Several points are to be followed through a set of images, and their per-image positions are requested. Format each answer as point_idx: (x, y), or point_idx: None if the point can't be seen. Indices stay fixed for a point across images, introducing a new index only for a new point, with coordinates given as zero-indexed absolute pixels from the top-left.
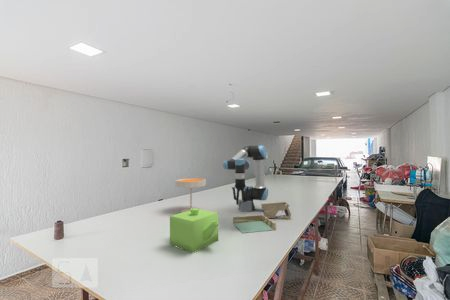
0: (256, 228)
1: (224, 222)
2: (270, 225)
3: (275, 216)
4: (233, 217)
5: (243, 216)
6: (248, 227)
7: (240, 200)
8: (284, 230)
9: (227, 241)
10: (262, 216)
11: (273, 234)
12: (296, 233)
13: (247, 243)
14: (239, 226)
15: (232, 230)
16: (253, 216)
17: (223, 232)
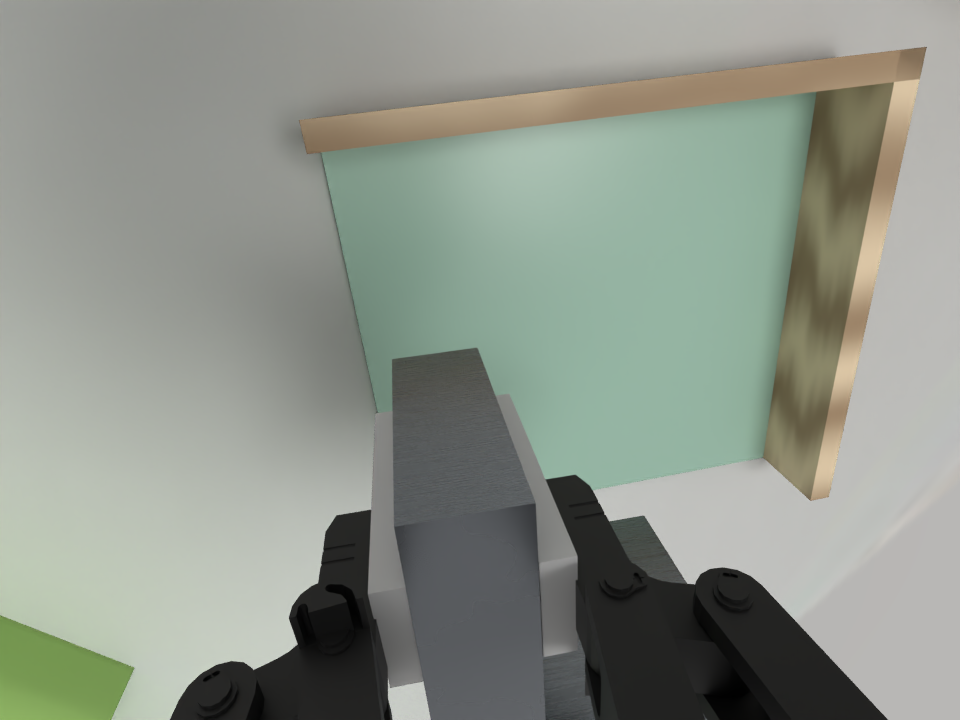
0: (597, 412)
1: (139, 14)
2: (786, 381)
3: None
4: (309, 138)
5: (532, 98)
6: (514, 369)
7: (473, 660)
8: (843, 466)
9: None
10: (876, 115)
11: (689, 552)
12: (882, 536)
13: (404, 706)
14: (400, 317)
15: (289, 433)
16: (725, 102)
17: (169, 489)
